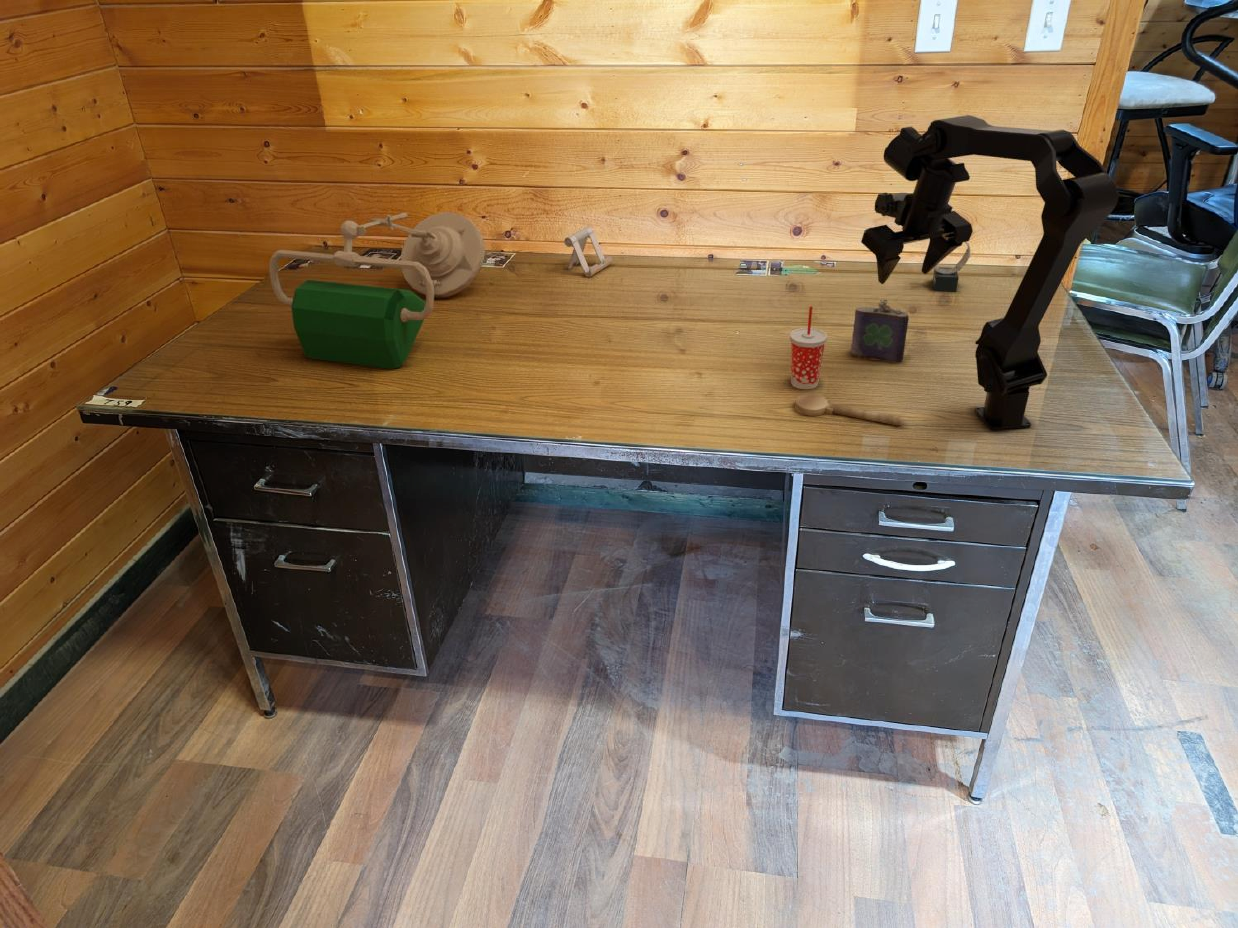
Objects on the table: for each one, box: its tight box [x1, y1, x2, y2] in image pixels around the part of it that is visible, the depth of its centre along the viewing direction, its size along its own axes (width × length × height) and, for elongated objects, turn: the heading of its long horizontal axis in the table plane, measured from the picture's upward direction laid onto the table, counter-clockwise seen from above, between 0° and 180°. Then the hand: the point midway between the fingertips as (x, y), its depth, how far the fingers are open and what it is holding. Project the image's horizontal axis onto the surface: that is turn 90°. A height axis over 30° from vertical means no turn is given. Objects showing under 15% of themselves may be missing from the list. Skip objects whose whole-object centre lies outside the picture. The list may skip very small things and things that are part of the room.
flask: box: [850, 299, 910, 364], centre depth 158 cm, size 9×3×11 cm, turn 65°
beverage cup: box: [789, 306, 828, 390], centre depth 150 cm, size 6×6×14 cm
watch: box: [931, 241, 971, 293], centre depth 185 cm, size 6×8×11 cm
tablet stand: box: [563, 225, 613, 278], centre depth 201 cm, size 9×8×8 cm
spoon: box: [794, 393, 904, 426], centre depth 144 cm, size 17×5×1 cm, turn 64°
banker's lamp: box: [268, 211, 486, 370], centre depth 178 cm, size 35×42×39 cm
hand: (902, 277), depth 154 cm, fingers open, 9 cm apart
